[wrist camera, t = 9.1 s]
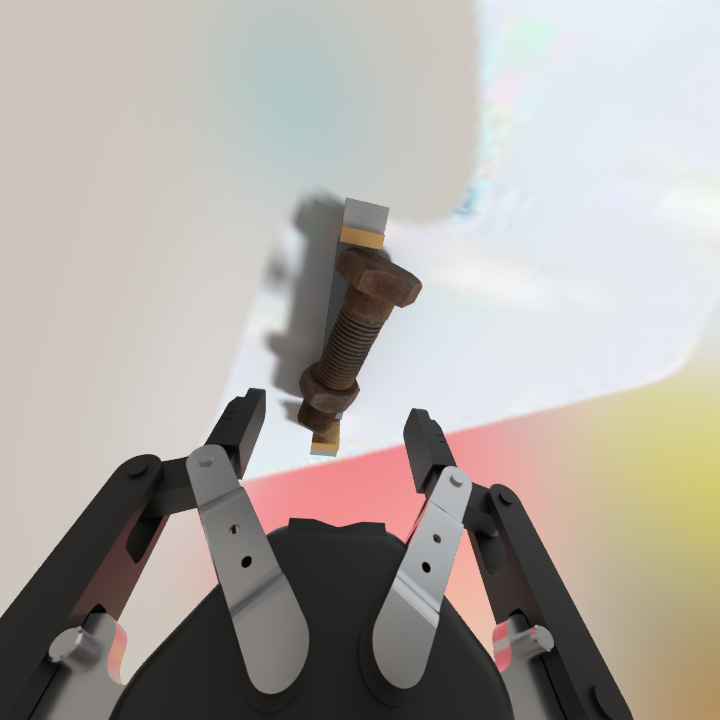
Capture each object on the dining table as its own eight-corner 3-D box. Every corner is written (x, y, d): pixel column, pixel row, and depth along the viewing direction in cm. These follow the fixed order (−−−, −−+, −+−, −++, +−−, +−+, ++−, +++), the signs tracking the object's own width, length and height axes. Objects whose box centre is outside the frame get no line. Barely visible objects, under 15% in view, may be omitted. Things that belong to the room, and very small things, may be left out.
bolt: (310, 393, 26) (370, 249, 19) (349, 422, 25) (429, 281, 18) (269, 422, 21) (330, 242, 14) (316, 460, 20) (408, 285, 13)
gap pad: (338, 237, 18) (338, 237, 17) (377, 245, 18) (377, 246, 18) (314, 414, 26) (313, 416, 26) (341, 417, 26) (341, 419, 26)
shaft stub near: (345, 199, 17) (346, 197, 14) (382, 208, 17) (390, 207, 14) (340, 236, 18) (340, 241, 15) (375, 243, 18) (381, 249, 15)
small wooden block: (315, 415, 26) (311, 442, 23) (339, 418, 26) (339, 445, 23) (313, 431, 27) (309, 458, 24) (336, 433, 27) (335, 460, 24)
